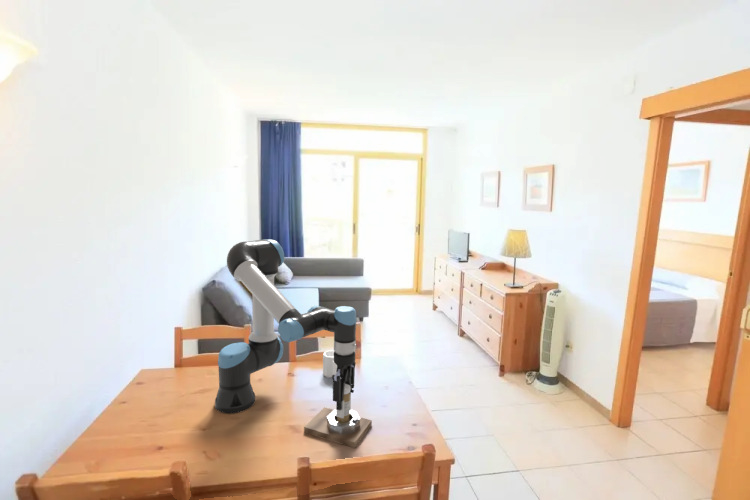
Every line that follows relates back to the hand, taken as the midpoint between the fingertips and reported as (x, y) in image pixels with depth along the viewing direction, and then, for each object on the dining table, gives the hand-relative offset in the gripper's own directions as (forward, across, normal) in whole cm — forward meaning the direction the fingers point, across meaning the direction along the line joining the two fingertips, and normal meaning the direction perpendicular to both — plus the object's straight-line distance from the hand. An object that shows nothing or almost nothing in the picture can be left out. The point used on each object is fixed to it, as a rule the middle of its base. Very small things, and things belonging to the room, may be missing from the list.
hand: (343, 413), depth 137 cm
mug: (+7, +35, +24) cm, 43 cm away
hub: (+5, 0, 0) cm, 5 cm away
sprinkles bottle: (+3, 0, 0) cm, 3 cm away
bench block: (+7, 0, +2) cm, 7 cm away
